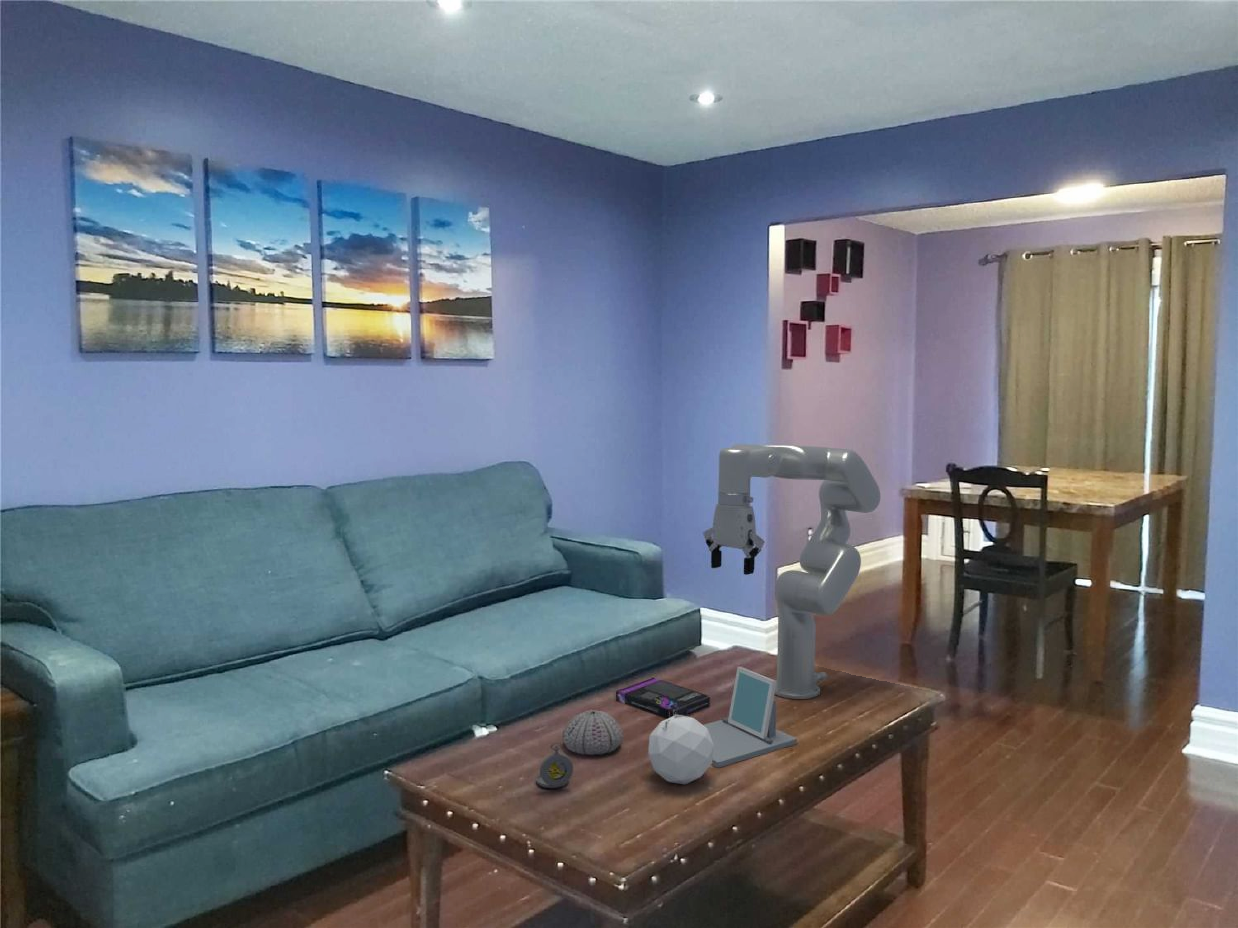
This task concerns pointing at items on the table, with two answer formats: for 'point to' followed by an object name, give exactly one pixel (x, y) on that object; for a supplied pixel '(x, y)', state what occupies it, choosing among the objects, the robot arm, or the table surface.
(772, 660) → the table surface
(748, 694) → the tile
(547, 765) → the pocket watch
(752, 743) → the board
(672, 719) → the geodesic sphere
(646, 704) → the box
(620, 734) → the sea urchin shell
